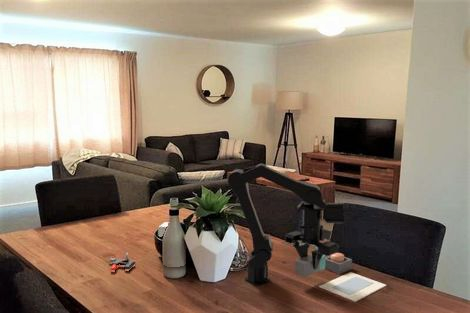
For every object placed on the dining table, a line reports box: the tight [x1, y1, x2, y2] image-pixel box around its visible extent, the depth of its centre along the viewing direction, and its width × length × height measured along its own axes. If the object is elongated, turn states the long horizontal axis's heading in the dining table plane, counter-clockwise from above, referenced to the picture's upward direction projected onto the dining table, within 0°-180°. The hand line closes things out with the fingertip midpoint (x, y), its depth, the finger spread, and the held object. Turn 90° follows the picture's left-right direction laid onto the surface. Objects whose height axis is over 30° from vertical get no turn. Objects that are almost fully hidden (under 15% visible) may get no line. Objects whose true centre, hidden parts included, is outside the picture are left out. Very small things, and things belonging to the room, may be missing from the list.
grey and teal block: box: [294, 253, 327, 278], centre depth 146 cm, size 11×4×4 cm, turn 130°
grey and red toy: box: [108, 252, 136, 271], centre depth 159 cm, size 10×12×5 cm
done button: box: [330, 252, 345, 263], centre depth 159 cm, size 5×5×3 cm
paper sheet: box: [318, 271, 387, 303], centre depth 144 cm, size 18×14×1 cm
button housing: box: [324, 255, 354, 275], centre depth 160 cm, size 8×8×4 cm
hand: (310, 267), depth 146 cm, fingers closed on grey and teal block, 4 cm apart
